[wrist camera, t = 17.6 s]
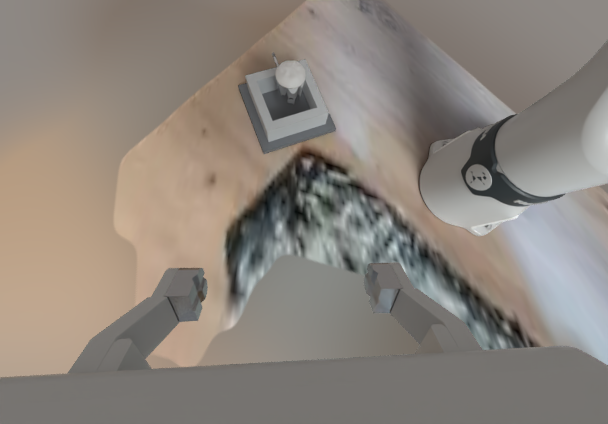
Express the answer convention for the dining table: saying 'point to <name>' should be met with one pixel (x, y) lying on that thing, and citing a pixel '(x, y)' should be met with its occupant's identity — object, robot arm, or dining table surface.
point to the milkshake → (289, 84)
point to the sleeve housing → (270, 118)
